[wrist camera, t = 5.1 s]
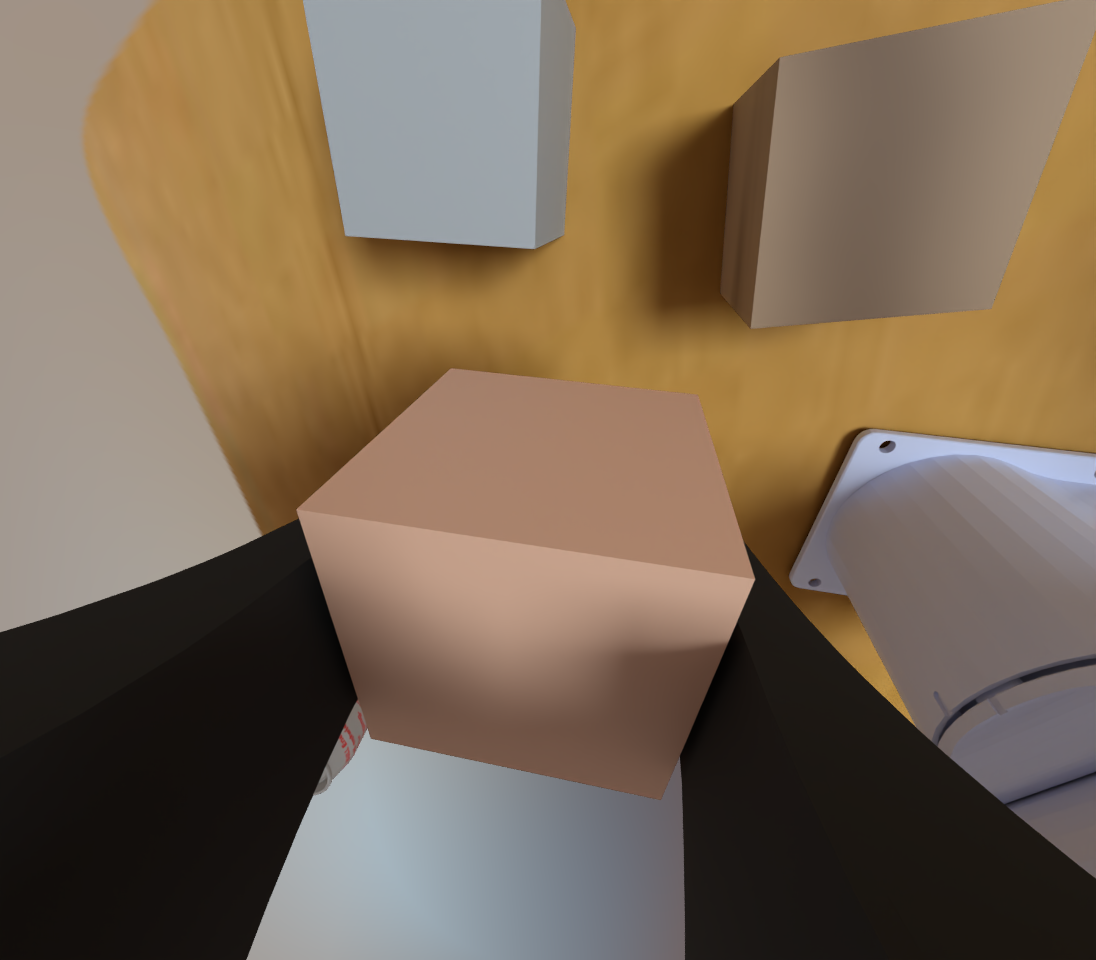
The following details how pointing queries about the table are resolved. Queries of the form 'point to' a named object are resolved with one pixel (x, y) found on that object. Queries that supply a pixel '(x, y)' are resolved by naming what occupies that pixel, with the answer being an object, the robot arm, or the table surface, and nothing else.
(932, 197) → the walnut block
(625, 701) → the terracotta block
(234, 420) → the table surface
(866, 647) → the table surface
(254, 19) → the table surface
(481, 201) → the slate block
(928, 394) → the table surface
